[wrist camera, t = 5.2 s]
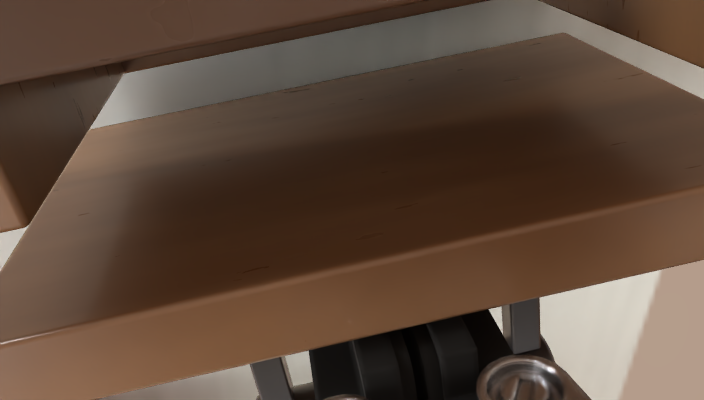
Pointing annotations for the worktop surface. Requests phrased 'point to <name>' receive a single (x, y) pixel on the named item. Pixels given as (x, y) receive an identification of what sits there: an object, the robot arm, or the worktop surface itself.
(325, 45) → the worktop surface
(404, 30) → the worktop surface
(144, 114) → the worktop surface
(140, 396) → the worktop surface
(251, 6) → the cabinet
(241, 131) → the drawer
